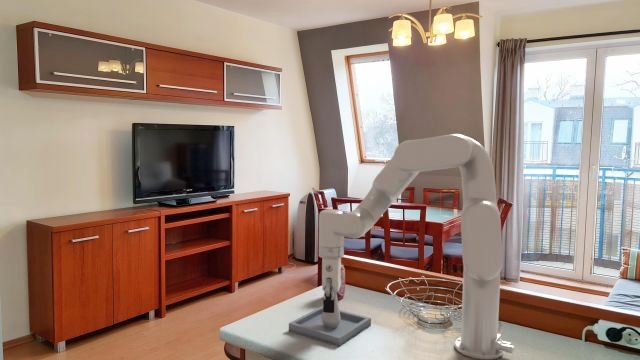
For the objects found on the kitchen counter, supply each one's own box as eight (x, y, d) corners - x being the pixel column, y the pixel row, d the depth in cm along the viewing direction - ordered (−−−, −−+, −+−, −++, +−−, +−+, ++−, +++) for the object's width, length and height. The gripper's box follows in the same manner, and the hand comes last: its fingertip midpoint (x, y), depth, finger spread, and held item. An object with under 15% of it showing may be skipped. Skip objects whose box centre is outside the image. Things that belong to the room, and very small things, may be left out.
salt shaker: (318, 328, 142) (319, 285, 140) (324, 321, 147) (325, 280, 146) (337, 330, 140) (338, 287, 139) (342, 323, 145) (343, 282, 144)
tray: (370, 325, 146) (371, 318, 146) (339, 346, 131) (339, 338, 131) (322, 312, 156) (323, 305, 156) (288, 330, 141) (288, 323, 141)
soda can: (345, 294, 174) (345, 262, 173) (344, 301, 167) (344, 267, 166) (326, 293, 175) (326, 261, 174) (324, 300, 168) (324, 267, 167)
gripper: (341, 259, 132) (340, 318, 134) (346, 245, 149) (345, 297, 151) (314, 257, 133) (314, 316, 135) (322, 244, 150) (322, 296, 152)
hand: (330, 306), depth 143 cm, fingers open, 9 cm apart
